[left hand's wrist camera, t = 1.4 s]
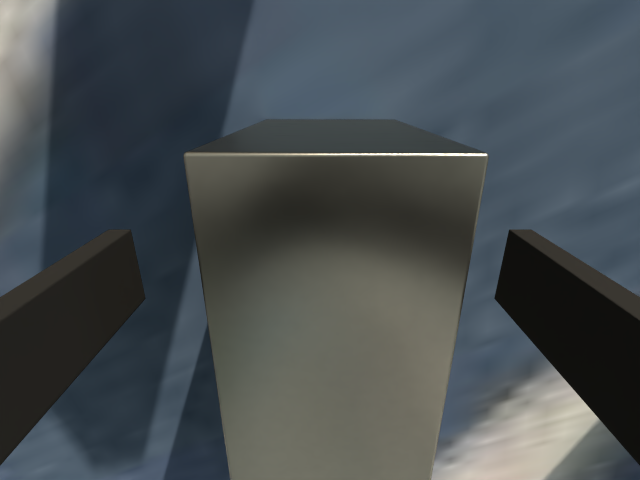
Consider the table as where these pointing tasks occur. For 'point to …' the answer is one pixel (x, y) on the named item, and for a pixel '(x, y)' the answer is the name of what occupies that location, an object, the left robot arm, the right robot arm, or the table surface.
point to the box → (333, 291)
